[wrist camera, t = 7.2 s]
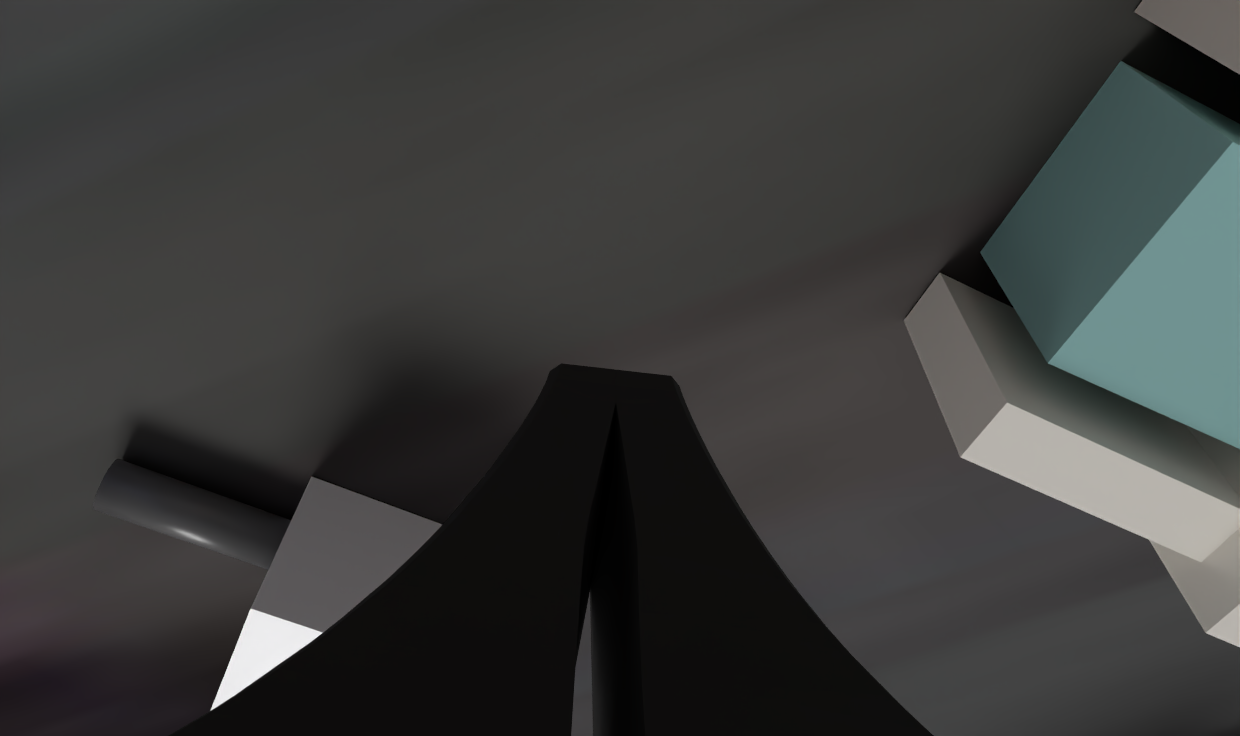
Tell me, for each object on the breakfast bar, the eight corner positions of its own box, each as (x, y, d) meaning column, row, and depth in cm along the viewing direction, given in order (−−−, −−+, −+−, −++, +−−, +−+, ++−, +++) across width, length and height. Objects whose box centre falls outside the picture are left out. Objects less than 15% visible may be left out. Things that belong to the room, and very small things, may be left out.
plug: (105, 519, 23) (12, 652, 20) (133, 410, 22) (37, 537, 18) (499, 654, 25) (476, 795, 22) (554, 565, 24) (537, 704, 20)
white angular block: (886, 343, 20) (954, 528, 15) (1213, -95, 15) (1449, -22, 11) (1130, 455, 21) (1261, 655, 17) (1497, 80, 17) (1815, 213, 12)
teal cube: (979, 250, 19) (1047, 363, 16) (1119, 59, 17) (1233, 141, 14) (1148, 329, 20) (1248, 453, 16) (1301, 156, 18) (1451, 256, 14)
